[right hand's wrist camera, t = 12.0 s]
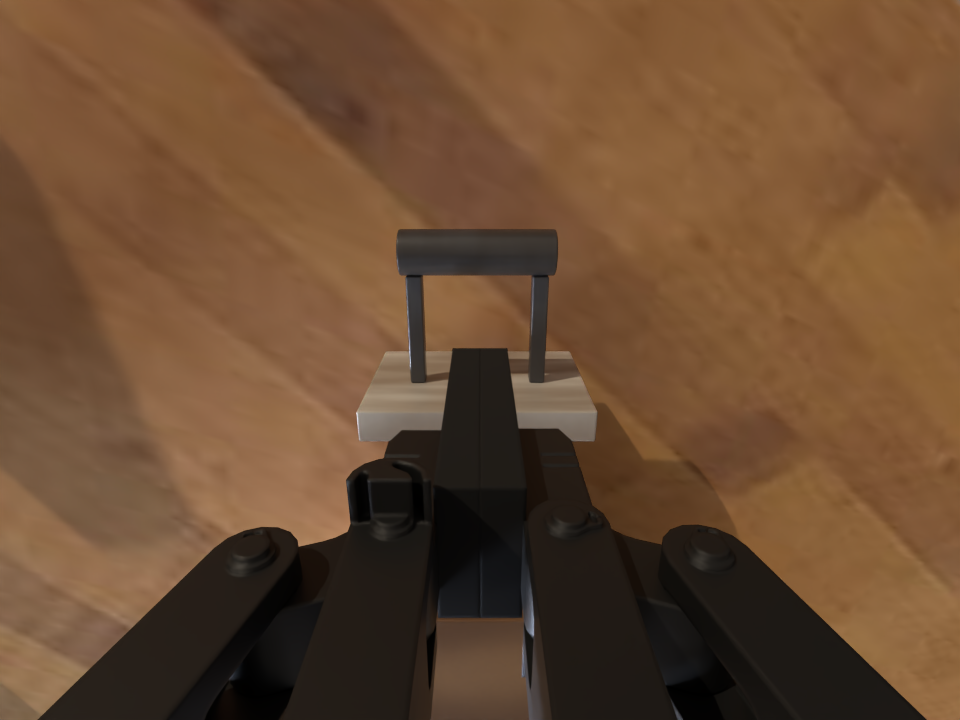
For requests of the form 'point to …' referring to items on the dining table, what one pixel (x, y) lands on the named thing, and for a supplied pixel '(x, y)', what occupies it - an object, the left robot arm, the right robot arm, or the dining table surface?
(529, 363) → the drawer
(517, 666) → the cabinet
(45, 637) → the dining table surface
